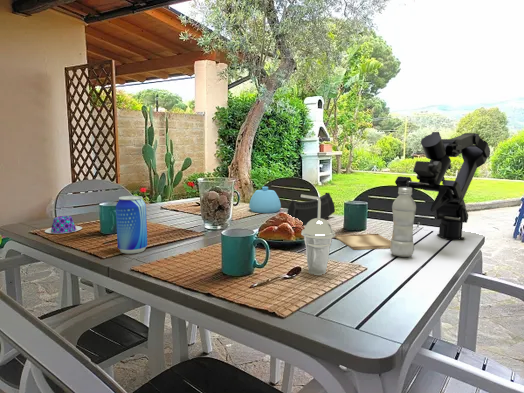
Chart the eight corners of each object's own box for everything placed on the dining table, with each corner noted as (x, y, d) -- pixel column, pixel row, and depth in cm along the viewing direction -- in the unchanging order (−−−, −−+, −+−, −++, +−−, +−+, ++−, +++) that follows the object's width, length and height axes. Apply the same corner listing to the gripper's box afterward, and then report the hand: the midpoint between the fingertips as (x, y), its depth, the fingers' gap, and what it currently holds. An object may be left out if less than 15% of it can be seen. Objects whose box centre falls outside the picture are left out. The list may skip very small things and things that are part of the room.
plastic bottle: (402, 260, 105) (407, 189, 102) (384, 254, 111) (388, 186, 108) (418, 257, 108) (423, 188, 105) (400, 251, 114) (404, 185, 111)
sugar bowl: (269, 215, 170) (270, 189, 168) (242, 211, 178) (242, 187, 176) (286, 210, 182) (286, 186, 180) (260, 207, 190) (260, 184, 189)
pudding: (56, 237, 129) (55, 222, 128) (38, 232, 135) (37, 217, 134) (89, 230, 138) (88, 216, 138) (70, 226, 145) (69, 212, 144)
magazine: (287, 206, 140) (331, 177, 160) (281, 205, 142) (324, 177, 162) (295, 246, 146) (336, 214, 166) (288, 244, 148) (329, 213, 168)
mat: (377, 235, 134) (377, 233, 134) (401, 247, 118) (401, 245, 118) (334, 237, 131) (334, 235, 131) (354, 250, 115) (354, 247, 115)
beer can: (153, 248, 115) (151, 196, 113) (135, 255, 108) (133, 200, 105) (130, 245, 118) (128, 194, 116) (111, 252, 110) (108, 198, 108)
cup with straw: (334, 279, 91) (337, 196, 88) (296, 276, 92) (298, 195, 89) (334, 267, 99) (336, 192, 96) (299, 265, 100) (301, 190, 98)
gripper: (399, 151, 121) (378, 187, 115) (461, 152, 107) (440, 194, 101) (410, 174, 127) (391, 210, 121) (469, 179, 113) (450, 219, 107)
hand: (416, 208), depth 112 cm, fingers open, 9 cm apart
